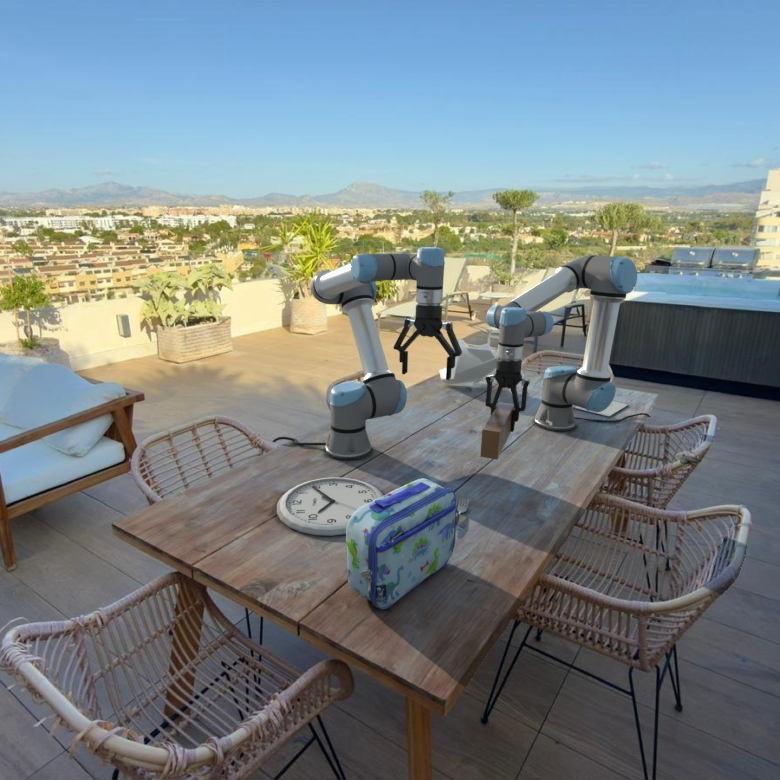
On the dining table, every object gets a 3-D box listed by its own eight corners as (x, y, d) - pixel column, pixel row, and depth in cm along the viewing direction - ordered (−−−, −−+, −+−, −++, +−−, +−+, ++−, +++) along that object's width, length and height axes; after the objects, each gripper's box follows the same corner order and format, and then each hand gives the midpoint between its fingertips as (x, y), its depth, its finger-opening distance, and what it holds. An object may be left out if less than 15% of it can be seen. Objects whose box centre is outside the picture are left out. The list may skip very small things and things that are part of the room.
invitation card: (608, 416, 214) (573, 407, 224) (608, 416, 214) (573, 408, 224) (628, 404, 229) (594, 396, 238) (628, 405, 229) (594, 397, 238)
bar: (497, 426, 171) (499, 402, 169) (512, 428, 169) (514, 404, 167) (480, 456, 148) (482, 429, 146) (497, 459, 146) (499, 432, 144)
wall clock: (392, 527, 129) (268, 531, 127) (391, 533, 130) (269, 537, 127) (383, 473, 158) (282, 475, 155) (383, 478, 158) (282, 480, 156)
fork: (445, 533, 130) (445, 526, 130) (459, 503, 145) (460, 496, 144) (455, 535, 130) (456, 528, 129) (469, 504, 144) (469, 498, 143)
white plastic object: (461, 429, 252) (437, 405, 227) (444, 352, 274) (420, 323, 250) (535, 404, 240) (518, 377, 215) (510, 326, 262) (492, 293, 237)
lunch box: (375, 622, 100) (376, 527, 94) (339, 595, 108) (338, 505, 101) (459, 565, 118) (465, 481, 112) (424, 545, 125) (427, 465, 119)
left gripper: (383, 302, 149) (382, 374, 156) (469, 308, 141) (464, 384, 147) (393, 299, 156) (391, 368, 162) (475, 305, 147) (470, 377, 154)
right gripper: (478, 358, 160) (473, 428, 167) (538, 364, 154) (530, 437, 161) (483, 353, 167) (478, 421, 174) (541, 358, 161) (533, 429, 168)
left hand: (426, 376), depth 155 cm, fingers open, 13 cm apart
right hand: (503, 428), depth 167 cm, fingers closed on bar, 5 cm apart
